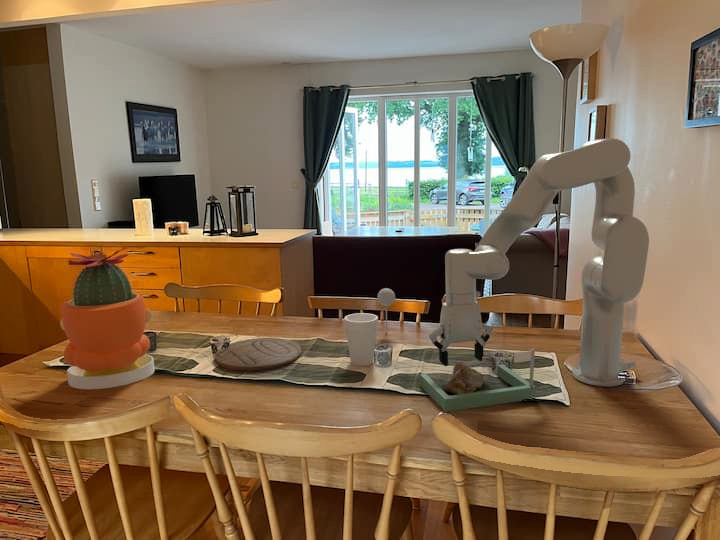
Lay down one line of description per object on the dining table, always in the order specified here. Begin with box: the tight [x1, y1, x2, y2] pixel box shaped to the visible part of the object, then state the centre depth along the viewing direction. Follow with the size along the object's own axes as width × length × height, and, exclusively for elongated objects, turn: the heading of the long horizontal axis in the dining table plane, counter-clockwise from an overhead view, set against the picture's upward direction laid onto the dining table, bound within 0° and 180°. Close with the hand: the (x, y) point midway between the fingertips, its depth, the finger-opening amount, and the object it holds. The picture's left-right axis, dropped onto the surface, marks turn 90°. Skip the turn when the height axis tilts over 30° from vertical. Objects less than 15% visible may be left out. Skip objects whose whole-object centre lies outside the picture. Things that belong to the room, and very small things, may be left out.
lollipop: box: [376, 287, 396, 333], centre depth 180 cm, size 6×6×15 cm
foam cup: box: [343, 312, 379, 367], centre depth 154 cm, size 10×9×13 cm
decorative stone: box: [443, 361, 485, 395], centre depth 136 cm, size 10×4×15 cm
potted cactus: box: [59, 246, 155, 390], centre depth 143 cm, size 22×22×35 cm
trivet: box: [214, 337, 302, 373], centre depth 162 cm, size 25×25×2 cm
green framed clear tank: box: [419, 348, 537, 412], centre depth 132 cm, size 23×16×12 cm
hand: (461, 361), depth 142 cm, fingers open, 9 cm apart
